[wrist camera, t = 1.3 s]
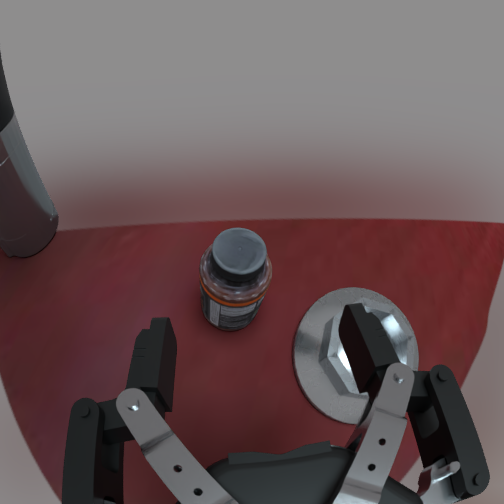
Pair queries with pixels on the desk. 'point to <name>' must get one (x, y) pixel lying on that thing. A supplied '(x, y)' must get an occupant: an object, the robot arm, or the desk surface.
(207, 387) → the desk surface
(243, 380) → the desk surface
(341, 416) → the steel collar
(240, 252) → the supplement bottle
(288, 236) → the desk surface
